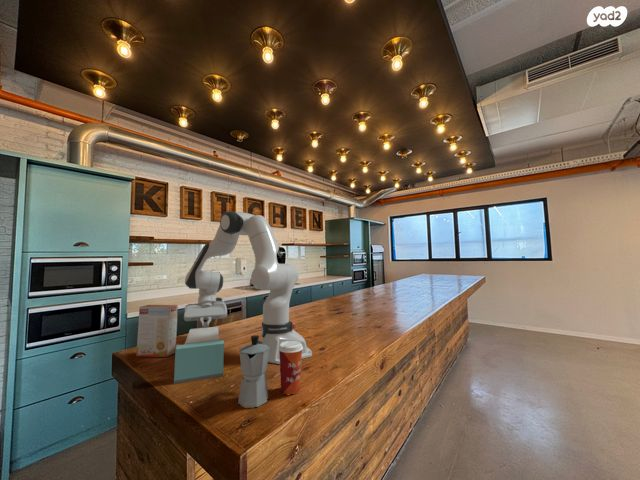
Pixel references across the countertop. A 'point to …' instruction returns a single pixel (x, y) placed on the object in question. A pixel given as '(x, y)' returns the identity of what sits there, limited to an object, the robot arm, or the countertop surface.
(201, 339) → the stone slab
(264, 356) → the coffee maker
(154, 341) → the cracker box
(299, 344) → the paper cup
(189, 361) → the rectangular block
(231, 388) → the countertop surface
